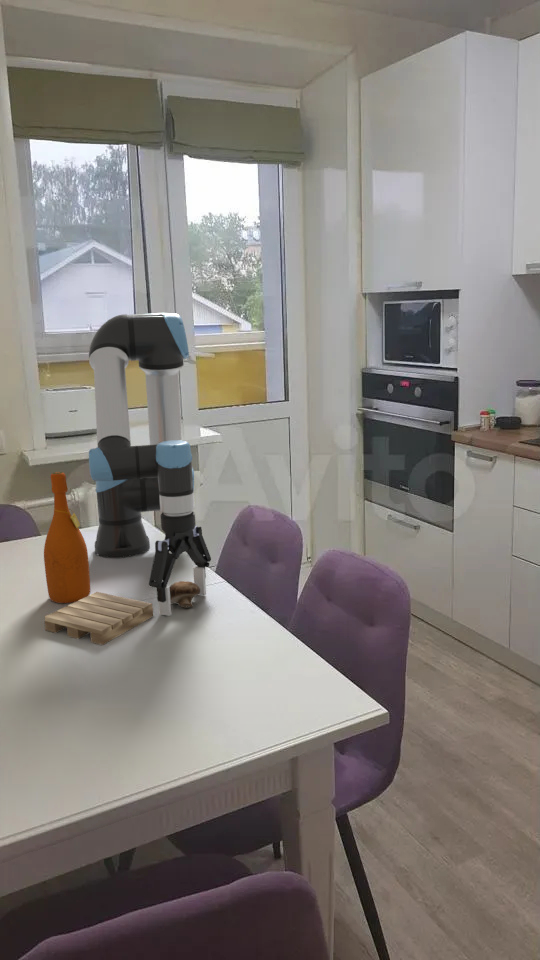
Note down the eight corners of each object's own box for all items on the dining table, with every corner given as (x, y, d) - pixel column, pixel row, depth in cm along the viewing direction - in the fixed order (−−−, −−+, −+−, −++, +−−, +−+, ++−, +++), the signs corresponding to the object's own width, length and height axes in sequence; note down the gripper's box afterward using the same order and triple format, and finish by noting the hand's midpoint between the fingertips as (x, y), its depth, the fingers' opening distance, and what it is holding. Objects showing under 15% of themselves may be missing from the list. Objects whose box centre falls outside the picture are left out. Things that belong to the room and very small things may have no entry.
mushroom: (197, 600, 161) (188, 573, 163) (164, 614, 162) (156, 587, 164) (208, 604, 169) (200, 578, 171) (177, 617, 170) (169, 591, 172)
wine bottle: (66, 608, 167) (53, 478, 161) (39, 599, 173) (25, 474, 167) (100, 594, 175) (89, 470, 168) (73, 586, 181) (61, 466, 174)
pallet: (98, 603, 170) (97, 591, 169) (153, 616, 162) (152, 603, 161) (45, 630, 156) (43, 616, 156) (102, 645, 148) (101, 631, 147)
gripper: (196, 497, 174) (201, 583, 179) (127, 524, 154) (134, 620, 159) (223, 500, 171) (227, 588, 175) (155, 528, 150) (162, 627, 155)
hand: (183, 604), depth 167 cm, fingers open, 12 cm apart
